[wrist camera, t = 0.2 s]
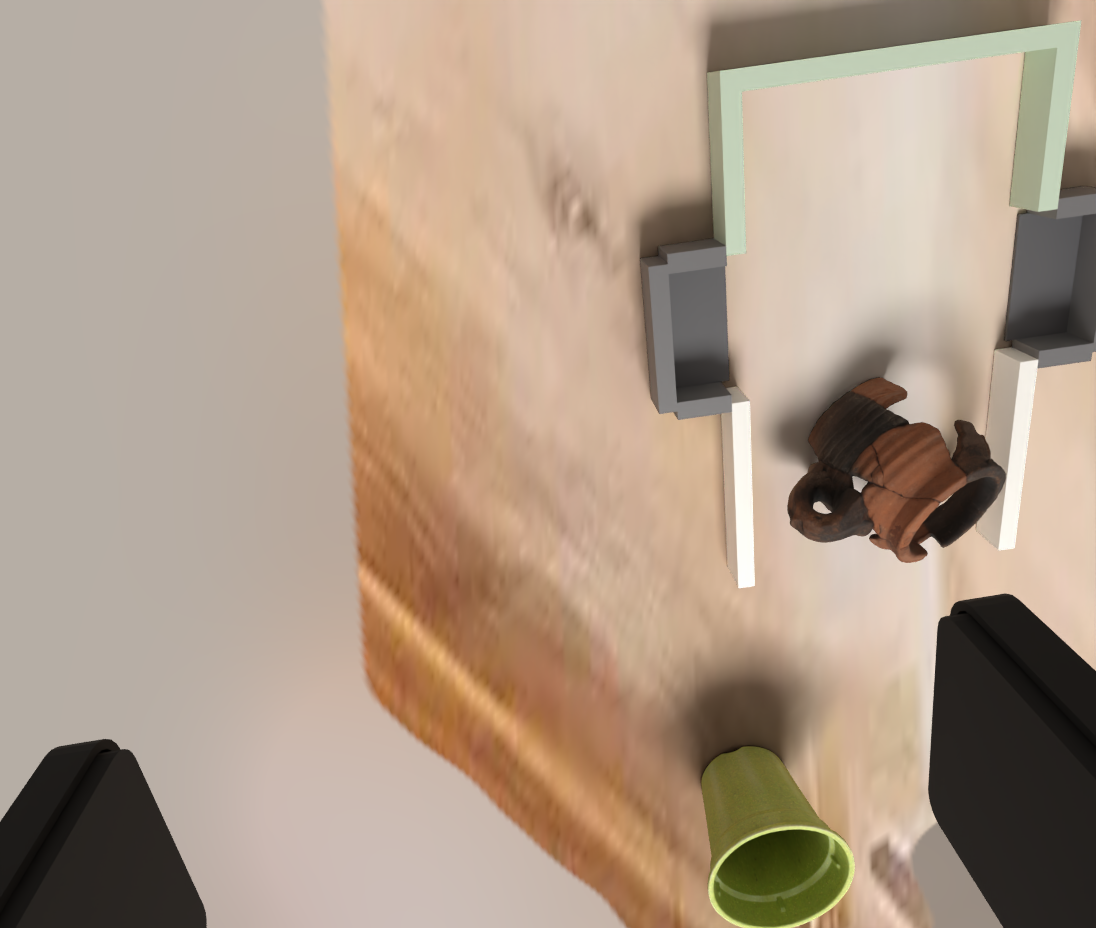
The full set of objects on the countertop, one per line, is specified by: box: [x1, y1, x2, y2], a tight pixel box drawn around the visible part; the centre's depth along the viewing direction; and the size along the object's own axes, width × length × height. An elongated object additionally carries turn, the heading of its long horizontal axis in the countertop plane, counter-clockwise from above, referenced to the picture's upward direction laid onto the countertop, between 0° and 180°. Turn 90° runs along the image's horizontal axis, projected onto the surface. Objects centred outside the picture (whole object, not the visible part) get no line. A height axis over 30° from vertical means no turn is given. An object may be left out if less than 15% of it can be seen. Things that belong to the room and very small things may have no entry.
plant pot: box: [701, 746, 855, 928], centre depth 55 cm, size 9×9×9 cm
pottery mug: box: [787, 377, 1006, 563], centre depth 47 cm, size 12×10×8 cm
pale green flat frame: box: [640, 21, 1096, 588], centre depth 45 cm, size 28×25×2 cm
